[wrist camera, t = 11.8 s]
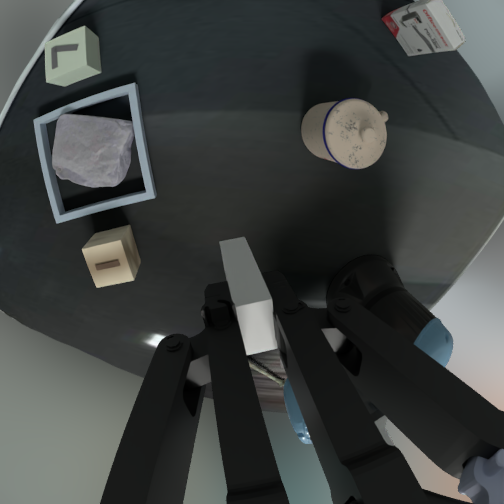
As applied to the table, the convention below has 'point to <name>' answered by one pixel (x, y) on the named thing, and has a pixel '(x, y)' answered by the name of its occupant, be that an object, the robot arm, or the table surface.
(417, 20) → the ink box
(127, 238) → the numbered birch block
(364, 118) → the teacup with lid
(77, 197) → the table surface
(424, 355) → the robot arm
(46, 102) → the table surface
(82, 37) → the numbered sage-green block
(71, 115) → the stone block
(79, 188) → the table surface
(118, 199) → the slate-blue holder
